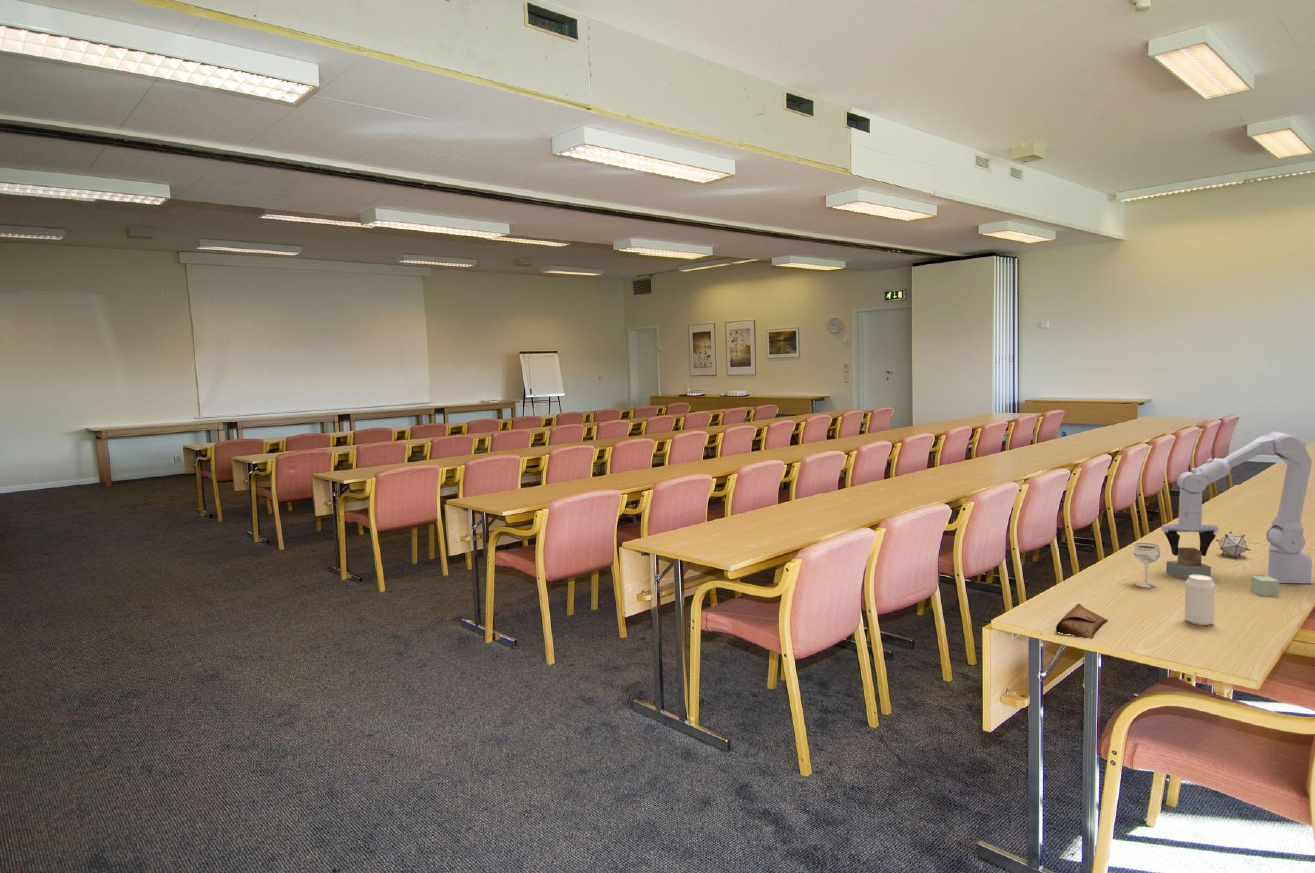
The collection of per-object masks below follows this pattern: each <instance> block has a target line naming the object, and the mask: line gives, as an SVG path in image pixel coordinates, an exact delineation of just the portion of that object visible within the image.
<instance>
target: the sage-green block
mask: <svg viewBox="0 0 1315 873" xmlns="http://www.w3.org/2000/svg"><path fill="white" fill-rule="evenodd" d="M1250 583H1251V585H1250V592H1252V593H1253V594H1256V595H1257V594H1258V595H1257V596H1260V597H1279V593H1280V583H1279V581H1278V580H1276V579H1274V578H1272V577H1270V576H1261V575H1251V582H1250Z"/></svg>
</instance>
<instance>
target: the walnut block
mask: <svg viewBox="0 0 1315 873" xmlns="http://www.w3.org/2000/svg"><path fill="white" fill-rule="evenodd" d="M1202 557H1203V556H1202V552H1201V551H1200V549H1198V548H1195V547H1178V556H1177V561H1178V562H1179V563H1181V564H1182V565H1184V566H1201V563H1202V559H1203V558H1202Z"/></svg>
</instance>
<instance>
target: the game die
mask: <svg viewBox="0 0 1315 873" xmlns="http://www.w3.org/2000/svg"><path fill="white" fill-rule="evenodd" d="M1244 537H1245V534H1242V535H1239V534H1234V533H1232V531H1229V534H1226V533H1225V534H1224V536H1223V537H1222V538H1220V539H1215V541H1216V542H1218V544H1219V550H1221V552H1222V553H1221V556H1223V555H1224V554H1225V555H1228V556H1230V557H1233V558H1234V559H1235V560H1236V559H1237V556H1239V557H1241V555H1242V554H1243V553H1245V552H1246V551H1252V550H1251V549H1250V548H1248V545H1247V543H1246V542H1247V541H1246V540H1245V538H1244Z"/></svg>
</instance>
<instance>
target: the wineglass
mask: <svg viewBox="0 0 1315 873" xmlns="http://www.w3.org/2000/svg"><path fill="white" fill-rule="evenodd" d="M1133 546H1134V548H1133V550H1132V551H1133V553H1132V554H1133V556H1134V557H1135V558H1136V559H1137V560H1138V561H1140V562H1142V563H1143V565H1144V581H1142V582H1137V584H1135V585H1136V586H1138V587H1142V588H1151V589H1152V588H1155V586H1156V585H1155V584H1153V583H1151V582H1147V580H1148V569H1149V567H1148V566H1149V565H1150V564H1151V563H1154V562H1156V561H1157V560H1158V559H1159V558H1160V556H1161V551H1160V548H1161V546H1160V545H1158V544H1154V543H1149V542H1148V543H1147V542H1136V543H1134V544H1133Z"/></svg>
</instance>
